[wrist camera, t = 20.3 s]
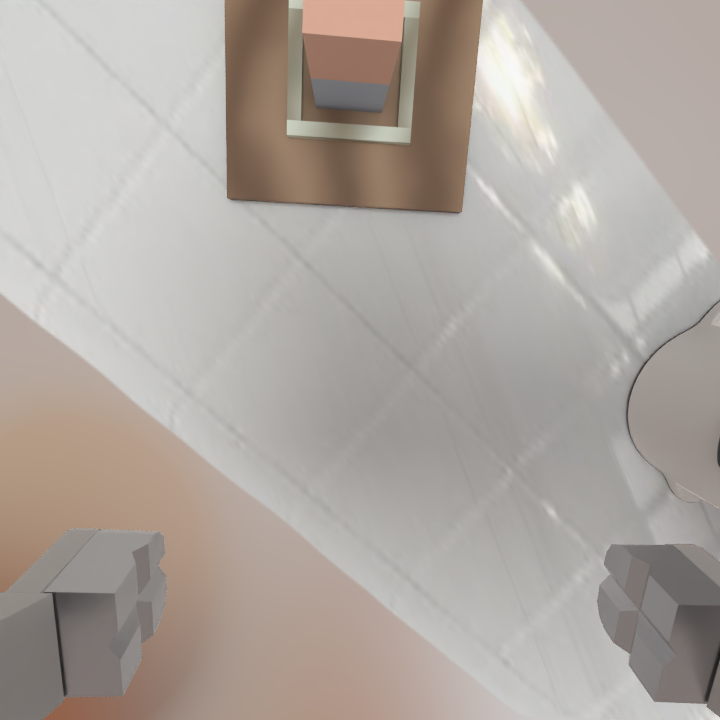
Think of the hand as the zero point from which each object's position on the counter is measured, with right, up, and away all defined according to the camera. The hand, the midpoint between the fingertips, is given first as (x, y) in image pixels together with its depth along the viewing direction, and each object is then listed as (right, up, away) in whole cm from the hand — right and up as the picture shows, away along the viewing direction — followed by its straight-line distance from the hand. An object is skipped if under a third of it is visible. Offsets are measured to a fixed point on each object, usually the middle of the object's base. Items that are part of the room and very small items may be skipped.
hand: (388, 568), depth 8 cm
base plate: (-1, +25, +26) cm, 36 cm away
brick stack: (-1, +24, +25) cm, 35 cm away
